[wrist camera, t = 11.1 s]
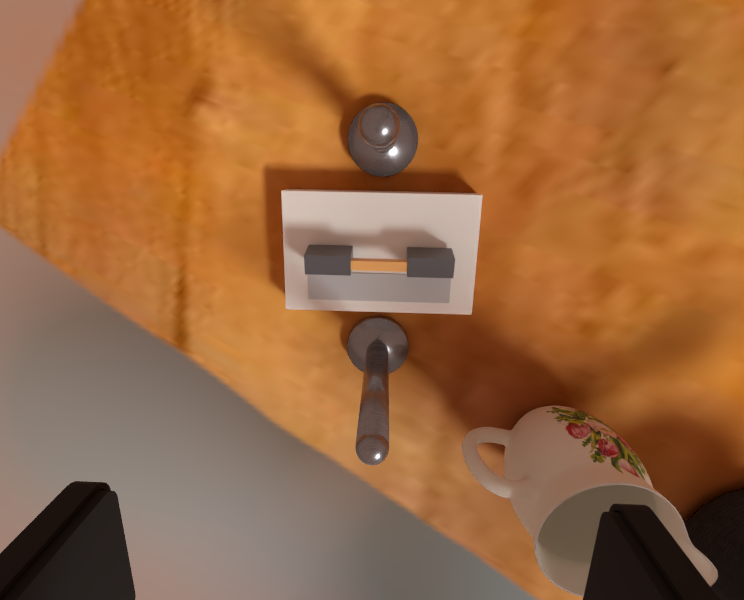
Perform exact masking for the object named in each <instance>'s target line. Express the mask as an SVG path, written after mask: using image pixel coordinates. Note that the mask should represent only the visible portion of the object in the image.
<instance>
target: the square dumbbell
mask: <svg viewBox="0 0 744 600" xmlns="http://www.w3.org/2000/svg"><path fill="white" fill-rule="evenodd" d="M304 267H305V274H310V275H347V276H351V271H352V270H354V271H392V272H407V277H420V278H453V276H454V267H455V257H454V254H453V251H452V248H427V247H407V256H406V259H371V258H353V246H348V245H308V247H307V250H306V252H305V254H304Z"/></svg>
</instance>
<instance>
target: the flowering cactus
mask: <svg viewBox="0 0 744 600" xmlns="http://www.w3.org/2000/svg"><path fill="white" fill-rule="evenodd" d="M685 527H686V530H687V533H688V536H689V539H690V541H691V543H692V544H693V546H694V547H695V548H696V549H697V550H699V551H700V552H701V553H702V554H703V555H705V556H706V557H707V558H708V559H709V560H710V561H711V562H712V563H713V565H714V566H715V568H716V569H717V572H718V578H717V580H716V582H715V583H714V584H713V585H712V586H711V588H712V590H713V591H714V592H715V593H716V594H717V595H718V596H719V597H720V599H721V600H744V489H742V490H739V491H736V492H731V493H727V494H723V495H722V496H720V497H719V498H717V499H715V500H714V501H712V502H710V503H708V504H706V505H704V506H702V507H701V508H700V509H699V510H698V511H697V512H696V513H695V514H694V515H693V516H692V517H691V518H690V519H689V520H687V521H686V522H685Z"/></svg>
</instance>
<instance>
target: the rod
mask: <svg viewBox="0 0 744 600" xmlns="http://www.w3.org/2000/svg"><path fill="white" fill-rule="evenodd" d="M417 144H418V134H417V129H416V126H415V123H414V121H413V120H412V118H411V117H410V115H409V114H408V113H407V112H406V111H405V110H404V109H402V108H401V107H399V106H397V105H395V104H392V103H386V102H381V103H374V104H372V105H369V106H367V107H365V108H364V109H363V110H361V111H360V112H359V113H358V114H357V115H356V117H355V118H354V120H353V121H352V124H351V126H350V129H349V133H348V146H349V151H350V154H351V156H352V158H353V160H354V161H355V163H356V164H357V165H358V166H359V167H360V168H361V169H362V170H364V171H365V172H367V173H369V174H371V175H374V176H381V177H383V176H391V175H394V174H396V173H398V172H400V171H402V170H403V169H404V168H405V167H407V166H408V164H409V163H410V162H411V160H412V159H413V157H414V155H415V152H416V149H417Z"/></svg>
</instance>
